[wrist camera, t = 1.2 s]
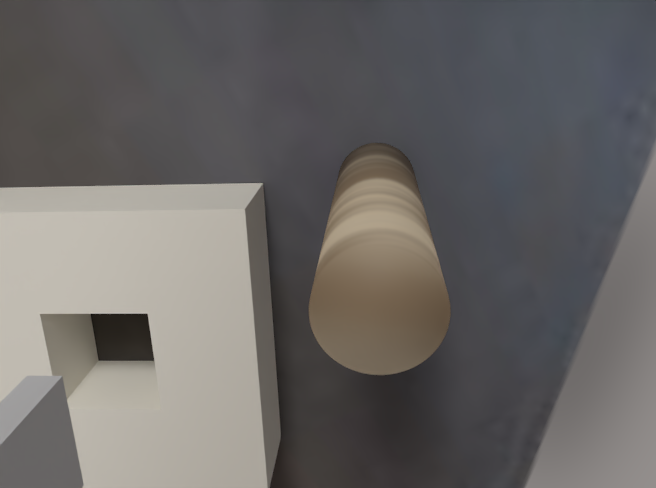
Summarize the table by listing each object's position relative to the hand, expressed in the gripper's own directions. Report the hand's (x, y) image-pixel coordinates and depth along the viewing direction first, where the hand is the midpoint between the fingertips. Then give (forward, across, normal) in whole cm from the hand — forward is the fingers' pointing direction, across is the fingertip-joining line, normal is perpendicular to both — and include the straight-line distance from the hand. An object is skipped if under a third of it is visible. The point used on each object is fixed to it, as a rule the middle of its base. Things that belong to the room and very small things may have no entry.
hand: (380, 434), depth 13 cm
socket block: (+21, -14, -8) cm, 27 cm away
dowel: (+21, 0, 0) cm, 21 cm away
